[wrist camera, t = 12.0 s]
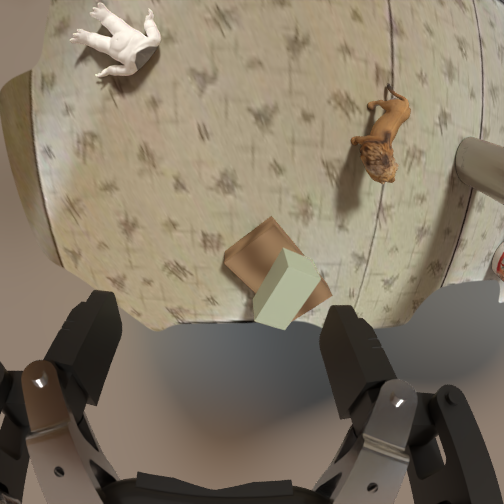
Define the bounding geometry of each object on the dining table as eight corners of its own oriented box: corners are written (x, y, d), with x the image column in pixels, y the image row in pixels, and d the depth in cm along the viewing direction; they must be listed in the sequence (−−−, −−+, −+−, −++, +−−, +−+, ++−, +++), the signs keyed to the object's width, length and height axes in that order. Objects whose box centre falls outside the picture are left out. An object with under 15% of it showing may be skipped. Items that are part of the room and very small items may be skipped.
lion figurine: (370, 176, 38) (400, 194, 30) (340, 163, 37) (366, 179, 29) (399, 91, 31) (435, 91, 23) (370, 74, 30) (403, 69, 22)
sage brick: (312, 259, 40) (321, 278, 36) (280, 308, 44) (284, 330, 40) (282, 247, 39) (288, 266, 34) (252, 299, 43) (254, 321, 38)
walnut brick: (271, 214, 41) (274, 225, 37) (325, 281, 47) (332, 295, 43) (225, 249, 43) (224, 263, 39) (284, 308, 49) (287, 323, 46)
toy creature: (109, -14, 18) (163, 8, 20) (130, 1, 24) (181, 27, 25) (56, 55, 22) (97, 89, 24) (81, 62, 28) (124, 95, 29)
